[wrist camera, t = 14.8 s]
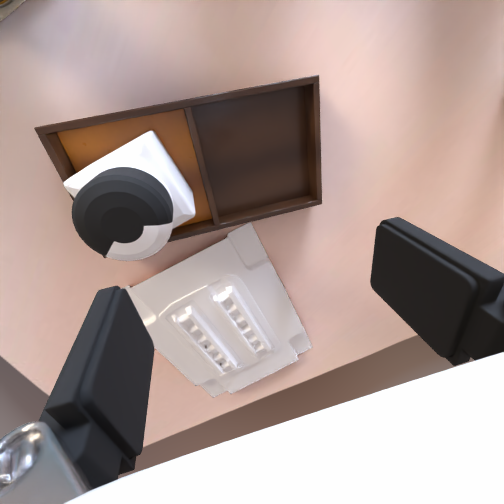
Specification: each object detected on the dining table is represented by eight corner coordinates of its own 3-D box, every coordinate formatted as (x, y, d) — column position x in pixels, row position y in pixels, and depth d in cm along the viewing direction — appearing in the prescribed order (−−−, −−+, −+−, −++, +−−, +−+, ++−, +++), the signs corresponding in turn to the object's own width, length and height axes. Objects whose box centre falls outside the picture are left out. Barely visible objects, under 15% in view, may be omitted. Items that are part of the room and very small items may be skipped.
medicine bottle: (88, 165, 25) (25, 206, 15) (153, 128, 25) (134, 144, 15) (137, 224, 29) (113, 289, 19) (194, 192, 29) (201, 241, 18)
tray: (213, 398, 48) (215, 418, 44) (107, 292, 34) (99, 310, 31) (313, 346, 47) (323, 363, 44) (248, 217, 33) (254, 228, 30)
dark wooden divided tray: (47, 125, 24) (33, 127, 21) (307, 77, 26) (319, 74, 24) (109, 246, 30) (104, 258, 28) (312, 197, 33) (322, 204, 31)
